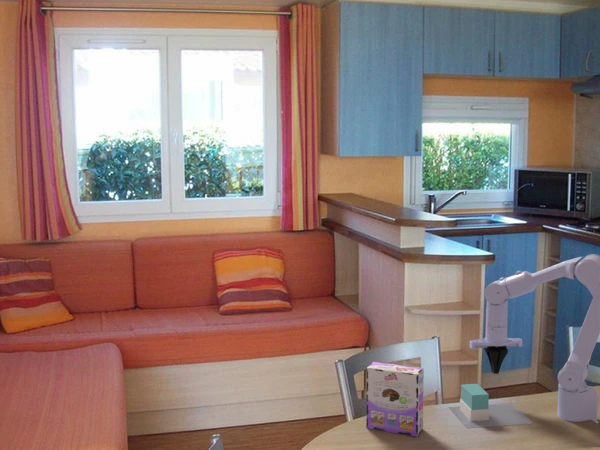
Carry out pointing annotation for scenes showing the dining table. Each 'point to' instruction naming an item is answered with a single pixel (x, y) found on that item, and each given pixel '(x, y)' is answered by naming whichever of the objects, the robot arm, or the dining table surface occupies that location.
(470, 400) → the teal brick
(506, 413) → the baseplate
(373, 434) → the dining table surface
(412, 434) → the candy box
